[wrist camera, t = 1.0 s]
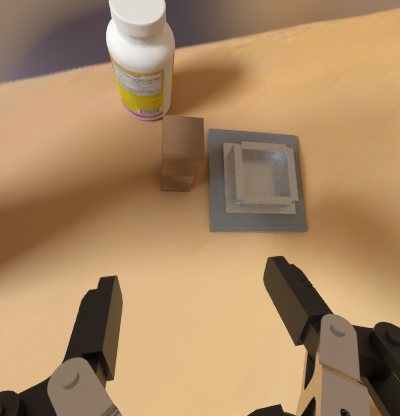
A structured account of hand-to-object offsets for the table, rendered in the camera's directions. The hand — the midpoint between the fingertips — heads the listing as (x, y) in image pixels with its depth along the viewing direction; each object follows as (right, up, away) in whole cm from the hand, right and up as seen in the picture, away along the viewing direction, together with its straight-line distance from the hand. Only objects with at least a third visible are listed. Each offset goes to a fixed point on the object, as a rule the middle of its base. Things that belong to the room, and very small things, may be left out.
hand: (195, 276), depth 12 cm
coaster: (+8, +7, +20) cm, 22 cm away
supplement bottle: (-7, +18, +20) cm, 28 cm away
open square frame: (+8, +8, +19) cm, 22 cm away
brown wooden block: (-3, +8, +18) cm, 20 cm away
